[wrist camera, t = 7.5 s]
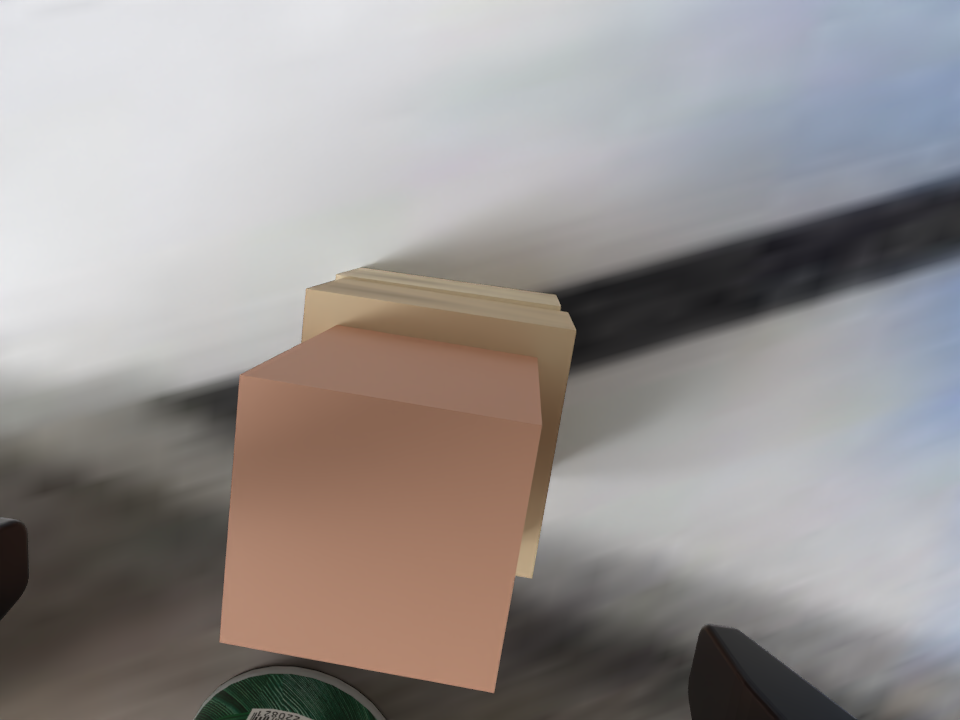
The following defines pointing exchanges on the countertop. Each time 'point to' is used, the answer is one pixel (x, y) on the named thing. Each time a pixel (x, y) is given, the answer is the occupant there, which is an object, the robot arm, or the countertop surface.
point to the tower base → (455, 288)
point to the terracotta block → (381, 504)
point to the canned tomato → (286, 697)
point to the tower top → (466, 326)
